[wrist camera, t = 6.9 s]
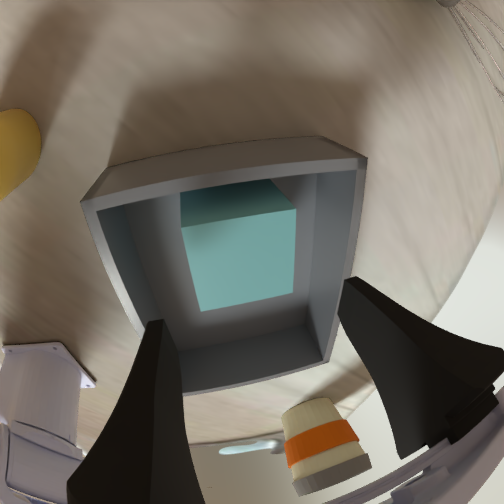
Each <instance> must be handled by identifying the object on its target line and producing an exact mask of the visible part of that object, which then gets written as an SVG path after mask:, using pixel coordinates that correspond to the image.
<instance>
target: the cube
mask: <svg viewBox="0 0 504 504" xmlns="http://www.w3.org/2000/svg"><path fill="white" fill-rule="evenodd" d="M180 214H181V231H182V235H183V240H184V244H185V249H186V253H187V258H188V262H189V266H190V271H191V275H192V279H193V283H194V287H195V291H196V295H197V299H198V303H199V307H200V310H201V312H202V311H207V310H212V309H218V308H223V307H228V306H233V305H238V304H243V303H248V302H253V301H257V300H262V299H267V298H271V297H276V296H280V295H285V294H289V293H293V279H294V259H295V234H296V208H295V207H294V206H293V205H292V203H291V202H290V201H289V200H288V199H287V198H286V197H285V195H284V194H283V193H282V192H281V191H280V190H279V189H278V188H277V186H276V185H275V184H274V183H273V182H272V181H271V180H270V179H269V178H268V179H260V180H253V181H246V182H239V183H232V184H226V185H220V186H214V187H208V188H202V189H196V190H191V191H185V192H180Z"/></svg>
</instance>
